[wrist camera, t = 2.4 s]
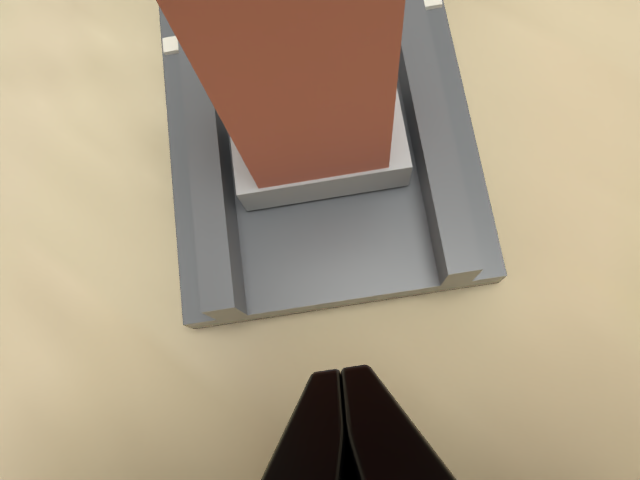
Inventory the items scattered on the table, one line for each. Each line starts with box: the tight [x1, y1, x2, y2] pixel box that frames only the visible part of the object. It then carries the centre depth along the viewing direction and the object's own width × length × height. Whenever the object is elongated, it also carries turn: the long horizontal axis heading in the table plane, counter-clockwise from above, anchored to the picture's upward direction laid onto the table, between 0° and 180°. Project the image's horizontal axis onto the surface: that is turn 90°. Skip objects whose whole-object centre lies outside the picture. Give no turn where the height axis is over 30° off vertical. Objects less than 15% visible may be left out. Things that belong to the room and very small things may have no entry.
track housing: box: [159, 0, 507, 329], centre depth 19 cm, size 15×10×4 cm
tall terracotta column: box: [156, 0, 413, 211], centre depth 13 cm, size 3×5×13 cm, turn 98°
